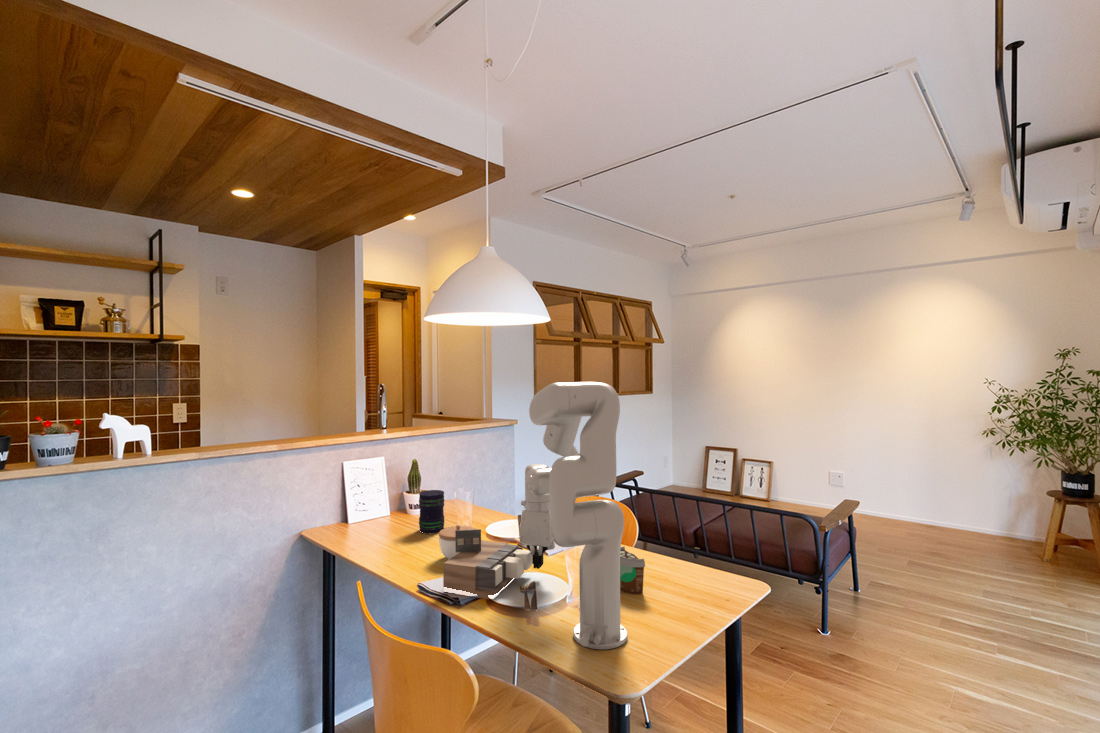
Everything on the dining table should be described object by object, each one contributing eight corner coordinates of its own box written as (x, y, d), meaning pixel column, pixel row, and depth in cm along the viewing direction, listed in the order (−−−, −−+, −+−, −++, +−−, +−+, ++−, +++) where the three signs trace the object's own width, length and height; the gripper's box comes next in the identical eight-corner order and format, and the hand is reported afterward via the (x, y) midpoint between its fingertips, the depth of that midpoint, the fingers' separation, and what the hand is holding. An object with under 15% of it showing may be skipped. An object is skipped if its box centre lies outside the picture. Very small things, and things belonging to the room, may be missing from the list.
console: (493, 600, 143) (492, 545, 143) (438, 591, 148) (438, 539, 149) (523, 571, 163) (523, 524, 164) (475, 565, 169) (475, 519, 169)
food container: (605, 582, 154) (605, 548, 155) (623, 579, 157) (623, 545, 157) (625, 599, 143) (625, 562, 143) (645, 595, 145) (645, 559, 145)
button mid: (517, 578, 150) (517, 563, 150) (501, 576, 152) (501, 561, 152) (523, 573, 154) (523, 558, 154) (507, 571, 156) (507, 556, 156)
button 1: (495, 586, 144) (495, 570, 145) (479, 584, 146) (479, 568, 146) (502, 580, 149) (502, 565, 149) (486, 578, 150) (486, 563, 150)
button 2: (526, 570, 156) (526, 555, 157) (511, 568, 158) (511, 553, 158) (532, 565, 161) (532, 550, 161) (517, 563, 162) (517, 549, 162)
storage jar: (415, 534, 203) (415, 495, 203) (422, 526, 213) (422, 489, 213) (441, 534, 203) (441, 495, 203) (447, 526, 213) (447, 489, 213)
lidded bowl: (432, 557, 176) (432, 524, 177) (464, 549, 185) (464, 518, 185) (450, 568, 167) (450, 533, 167) (484, 559, 175) (484, 525, 175)
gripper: (509, 506, 157) (510, 568, 157) (556, 511, 152) (557, 574, 152) (519, 501, 164) (519, 560, 164) (564, 505, 159) (565, 565, 159)
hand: (537, 566), depth 158 cm, fingers closed
